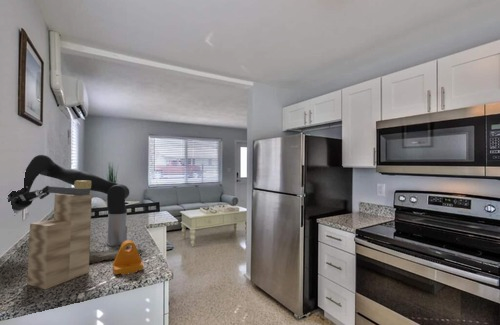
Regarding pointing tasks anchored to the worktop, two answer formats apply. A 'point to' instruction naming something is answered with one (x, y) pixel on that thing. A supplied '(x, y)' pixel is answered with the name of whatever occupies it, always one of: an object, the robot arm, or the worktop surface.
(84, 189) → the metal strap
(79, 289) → the worktop surface
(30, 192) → the robot arm
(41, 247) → the block
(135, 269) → the bracket
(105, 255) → the long grey stone
